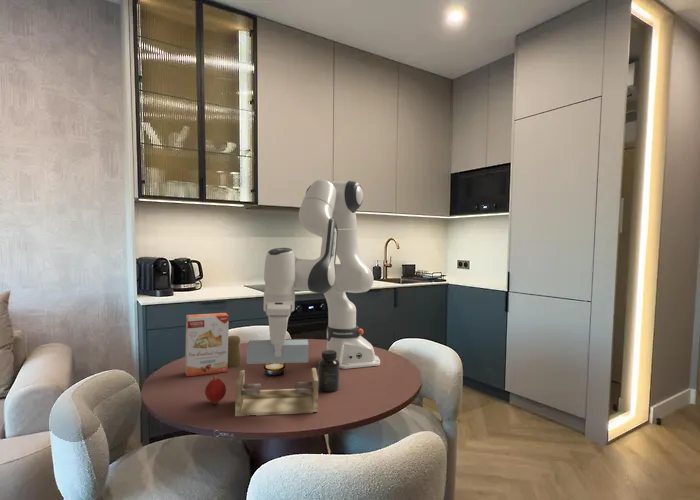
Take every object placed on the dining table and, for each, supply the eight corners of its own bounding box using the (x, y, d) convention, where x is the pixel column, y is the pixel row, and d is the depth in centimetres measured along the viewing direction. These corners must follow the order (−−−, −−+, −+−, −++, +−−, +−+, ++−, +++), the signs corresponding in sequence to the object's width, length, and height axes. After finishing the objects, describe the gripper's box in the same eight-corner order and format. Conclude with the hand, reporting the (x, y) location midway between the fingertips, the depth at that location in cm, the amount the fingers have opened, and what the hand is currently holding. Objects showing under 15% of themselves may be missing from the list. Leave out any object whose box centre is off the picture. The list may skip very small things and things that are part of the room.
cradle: (315, 397, 120) (315, 367, 120) (317, 412, 110) (318, 380, 109) (240, 400, 117) (240, 370, 117) (235, 416, 106) (235, 383, 106)
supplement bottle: (320, 384, 131) (320, 348, 131) (340, 385, 131) (341, 349, 130) (316, 391, 125) (316, 354, 124) (337, 393, 124) (338, 355, 124)
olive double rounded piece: (243, 362, 153) (243, 334, 153) (237, 367, 147) (237, 338, 146) (228, 361, 153) (228, 334, 153) (221, 366, 147) (222, 337, 147)
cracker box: (186, 377, 135) (187, 317, 135) (184, 372, 140) (185, 314, 140) (228, 372, 141) (229, 314, 141) (225, 367, 147) (226, 311, 146)
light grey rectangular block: (246, 363, 109) (247, 345, 109) (249, 357, 115) (249, 340, 115) (308, 362, 111) (308, 344, 111) (307, 356, 117) (307, 339, 117)
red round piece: (208, 399, 117) (208, 372, 117) (227, 399, 118) (228, 372, 117) (202, 407, 111) (202, 379, 111) (223, 407, 112) (223, 379, 112)
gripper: (269, 299, 122) (269, 343, 123) (266, 310, 102) (265, 363, 102) (290, 299, 123) (289, 342, 124) (290, 310, 103) (289, 362, 103)
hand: (278, 352), depth 113 cm, fingers closed on light grey rectangular block, 6 cm apart
